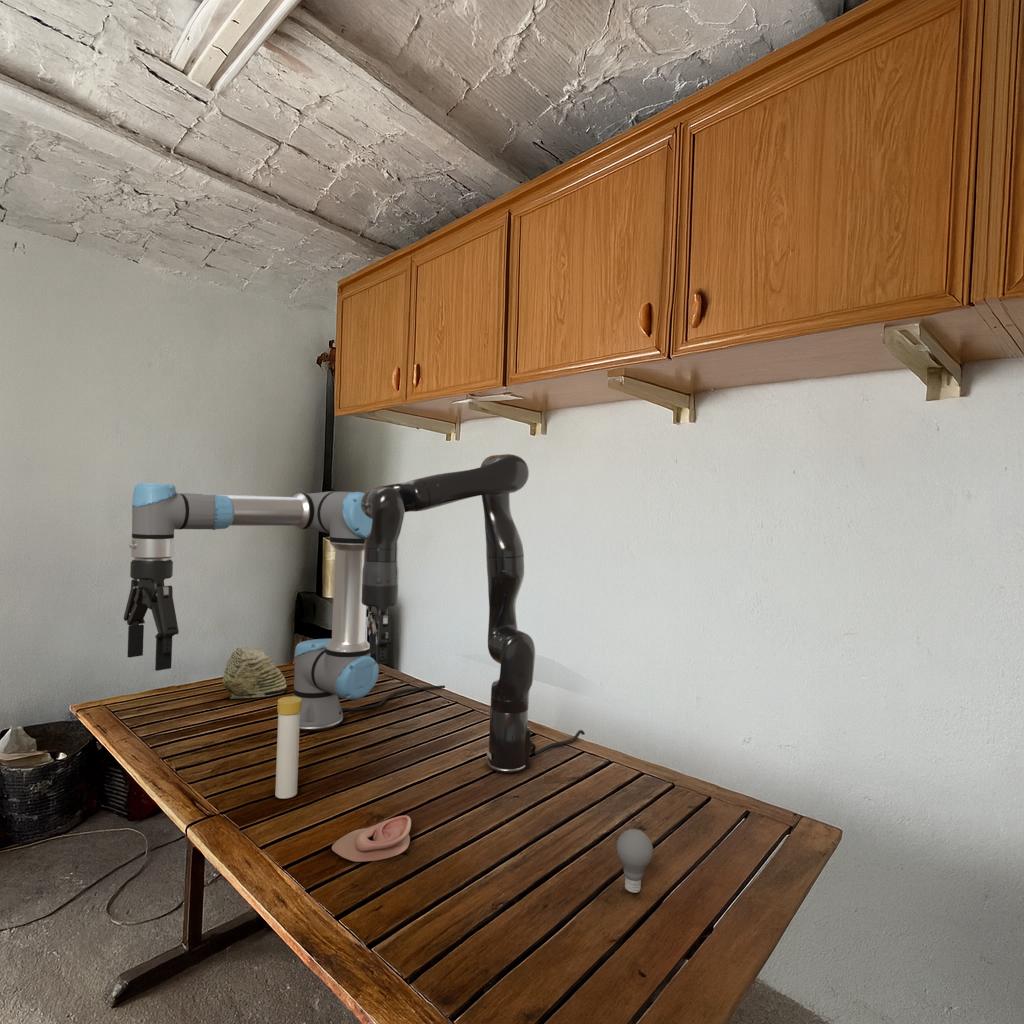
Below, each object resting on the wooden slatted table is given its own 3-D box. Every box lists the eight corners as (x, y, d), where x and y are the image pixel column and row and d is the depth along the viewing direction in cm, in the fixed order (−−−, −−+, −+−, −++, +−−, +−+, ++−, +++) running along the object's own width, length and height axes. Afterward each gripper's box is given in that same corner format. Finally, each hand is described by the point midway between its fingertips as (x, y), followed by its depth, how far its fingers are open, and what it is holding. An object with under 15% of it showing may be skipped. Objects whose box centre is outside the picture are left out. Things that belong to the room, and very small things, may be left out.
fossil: (218, 695, 195) (220, 647, 195) (278, 685, 208) (279, 640, 207) (228, 703, 189) (230, 653, 188) (289, 692, 201) (290, 645, 201)
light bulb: (610, 879, 108) (613, 822, 108) (644, 879, 109) (647, 822, 109) (619, 902, 102) (622, 840, 102) (655, 901, 103) (658, 840, 103)
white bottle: (276, 789, 136) (280, 699, 136) (298, 788, 137) (301, 698, 137) (273, 799, 132) (277, 705, 131) (295, 798, 133) (299, 705, 132)
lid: (278, 707, 136) (279, 696, 136) (302, 707, 137) (302, 696, 137) (275, 715, 131) (276, 703, 131) (300, 714, 132) (300, 703, 132)
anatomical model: (323, 834, 111) (353, 804, 123) (323, 856, 111) (352, 824, 123) (394, 845, 109) (418, 814, 120) (393, 868, 109) (417, 834, 120)
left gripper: (108, 554, 134) (104, 654, 134) (159, 565, 118) (155, 678, 119) (146, 552, 140) (143, 648, 140) (199, 563, 124) (195, 671, 124)
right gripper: (405, 586, 128) (402, 666, 128) (391, 577, 141) (389, 649, 142) (367, 587, 125) (365, 668, 126) (357, 577, 139) (355, 651, 139)
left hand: (148, 662), depth 129 cm, fingers open, 13 cm apart
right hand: (378, 658), depth 134 cm, fingers open, 8 cm apart
